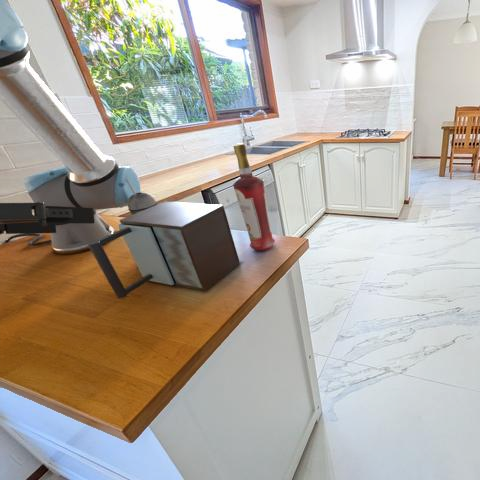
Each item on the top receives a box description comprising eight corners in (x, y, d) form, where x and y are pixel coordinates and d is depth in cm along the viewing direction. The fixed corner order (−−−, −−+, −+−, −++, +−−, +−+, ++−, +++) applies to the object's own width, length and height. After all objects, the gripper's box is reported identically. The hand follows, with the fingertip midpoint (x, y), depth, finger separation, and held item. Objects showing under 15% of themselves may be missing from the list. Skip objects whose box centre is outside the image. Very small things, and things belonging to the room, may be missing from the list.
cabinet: (147, 280, 70) (119, 220, 63) (186, 255, 80) (166, 200, 73) (205, 291, 65) (181, 226, 57) (240, 263, 75) (223, 205, 67)
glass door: (110, 300, 63) (76, 242, 56) (146, 278, 70) (120, 224, 63) (140, 307, 60) (108, 247, 53) (174, 283, 67) (150, 227, 60)
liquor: (244, 249, 81) (216, 146, 68) (265, 238, 86) (243, 141, 73) (260, 256, 77) (234, 148, 64) (281, 244, 82) (261, 142, 69)
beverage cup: (175, 238, 91) (151, 175, 81) (151, 248, 85) (122, 182, 76) (163, 234, 94) (138, 173, 85) (139, 243, 89) (110, 180, 80)
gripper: (-167, 258, 40) (43, 247, 60) (-120, 236, 30) (113, 232, 50) (-173, 205, 40) (38, 211, 60) (-128, 165, 30) (108, 189, 50)
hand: (73, 221), depth 55 cm, fingers open, 13 cm apart
